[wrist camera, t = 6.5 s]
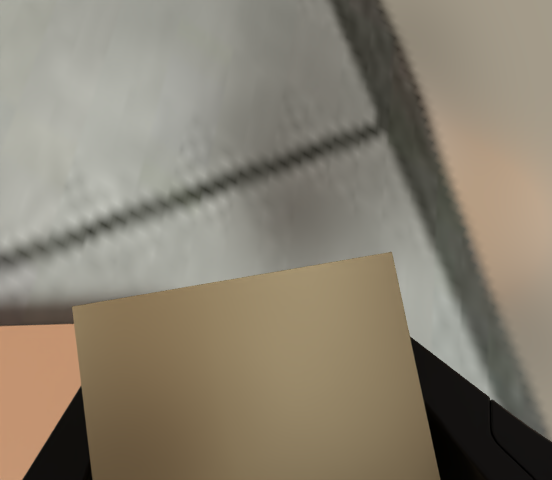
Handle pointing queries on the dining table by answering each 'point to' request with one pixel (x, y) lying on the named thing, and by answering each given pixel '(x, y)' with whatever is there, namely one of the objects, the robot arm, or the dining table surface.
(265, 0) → the dining table surface
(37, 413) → the terracotta tile
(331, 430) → the maple block
